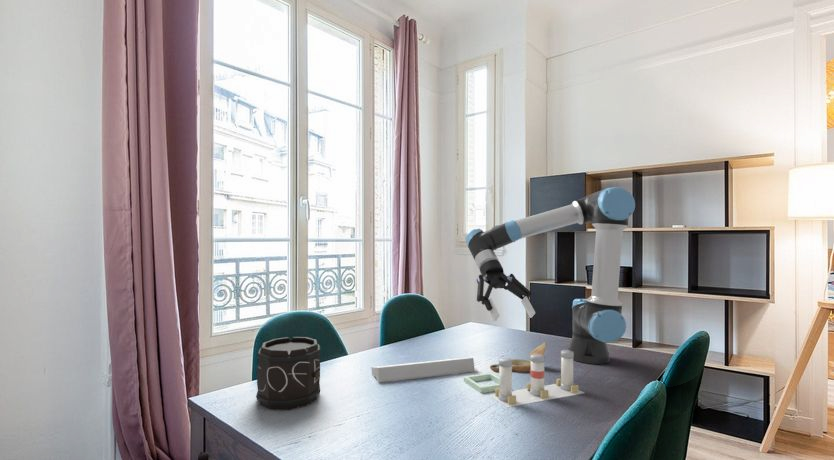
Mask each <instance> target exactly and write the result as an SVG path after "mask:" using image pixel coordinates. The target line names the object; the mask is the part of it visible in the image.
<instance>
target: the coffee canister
mask: <svg viewBox="0 0 834 460" xmlns="http://www.w3.org/2000/svg"><path fill="white" fill-rule="evenodd" d="M321 351H322V350H321V346H320V344H319V343H318V341H317V339H314V338H312V337H307V336H292V337H291V339H290V337H289V336H286V337H280V338H273V339H271V340H268V341H264V342H263V343H262V344H261V347H260V348H259V349H258V352H257V355H256V358H257V359H258V362H257V371H256V372H257V374H256V385H257V393H256V394H255V397H256V400H258V401H259V404H260V406H262V407H264V408H266V409H268V410H277V411H279V410H282V411H290V410H293V409H294V410H295V409H298V408H302V407H307V406H308V405H310V404H311V403H313V402H314V401H316V400H317V398H318V396H319V395H320V393H321V385H320V380H321V379H320V378H321V359H320V354H322V352H321Z"/></svg>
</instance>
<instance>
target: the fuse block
mask: <svg viewBox="0 0 834 460" xmlns="http://www.w3.org/2000/svg"><path fill="white" fill-rule="evenodd" d="M555 382H556V383H552V384H546V385H545V384H544V389H545V390H543V391H540V397H538V396H533V395H531V394H530V387H531V382H529V383H526V388H521V389H516V390H512V396H508V402H503V401H500V400H499V388H496V389H495V391H494V393H492V394H489V396H490V397H491V398H492V399H494V400H496V401H497V402H499V403H500V404H502V405H503V406H505V407H506V408H511V407H516V406H522V405H527V404H534V403H537V402H538V403H539V402H543V401H549V400H550V401H551V400H555V399H560V398H566V397H572V396H577V395H582V394H585V392H584V391H582V390H579V385H578V384H574V385H572V386H571V391H565V390H562V389H561V377H560V378H556V381H555Z"/></svg>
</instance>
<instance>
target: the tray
mask: <svg viewBox="0 0 834 460" xmlns="http://www.w3.org/2000/svg"><path fill="white" fill-rule="evenodd" d="M487 380H491V381H493V382H494V383H493V384H487V385H481V384H479V383H477V382H480V381H487ZM463 382H464V384H466V385H468V386H469V387H470V388H472V389H473V390H475V391H477V392H478V393H480V394H484V393H491V392H495V389H496V388H499V375H495V374H494V373H492V372H487V373H480V374H472V375H466V376H463Z"/></svg>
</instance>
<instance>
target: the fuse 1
mask: <svg viewBox="0 0 834 460" xmlns="http://www.w3.org/2000/svg"><path fill="white" fill-rule="evenodd" d="M498 364H499V372H498V373H499V374H498V377H499V400H500V401H503V402H508V396H512V391H513V388H512V387H513V382H512V381H513V377H512V376H513V371H512V358H509V357H500V358H498Z"/></svg>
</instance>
